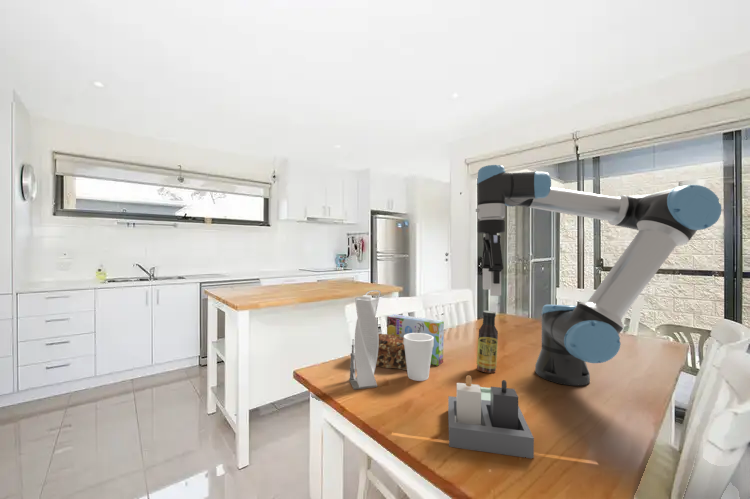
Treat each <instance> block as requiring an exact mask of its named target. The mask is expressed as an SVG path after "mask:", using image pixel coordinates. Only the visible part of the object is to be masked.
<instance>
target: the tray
mask: <svg viewBox="0 0 750 499" xmlns="http://www.w3.org/2000/svg"><path fill="white" fill-rule="evenodd" d="M480 390H481V400H488V401H491V387H485V386H483V387H482V386H480Z"/></svg>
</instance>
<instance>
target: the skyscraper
mask: <svg viewBox="0 0 750 499" xmlns="http://www.w3.org/2000/svg"><path fill="white" fill-rule="evenodd" d="M374 292H377V293H378V296H377V297H373V295H370V293H374ZM381 293H382V291H381V290H378V289H371V290H368V291H367V292H365V294H363V295H362V296H357V297H355V298H354V302H355V309H356V314H357V318H356V322H355V330H354V339H352V344H351V353H350V364H349V365H350V366H349V378H348V380H349V382H350V385H351V388H352V389H353V390H363V389H372V388H378V384H377V381H376V378H375V371H376V367H377V366H376V363H377V357H378V348H379V334H380V333H379V328H378V327H379V326H378V322H377V317H376V315H377V311H378V305H379V299H380V296H381Z"/></svg>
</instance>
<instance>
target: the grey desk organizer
mask: <svg viewBox="0 0 750 499" xmlns="http://www.w3.org/2000/svg"><path fill="white" fill-rule="evenodd" d="M507 384H508V382H507V381H506V380H505V379H503V380H501V387H498V386H490V388H491V401H488V400H481V425H474V424H466V423H459V422H456V402H457V396H449V395H448V401H447V402H448V406H447V407H448V408H447V410H448V412H447V413H448V415H447V416H448V418H447V419H448V447H449V448H456V449H463V450H471V451H476V452H477V451H478V452H485V453H491V454H492V453H493V454H498V455H503V456H505V455H506V456H512V457H520V458H525V457H526V458H525V459H532V458H534V457H535V454H534V453H535V452H534V451H535V450H534V449H535V448H534V447H535V437H534V435H533V433H532V431H531V429H530V427H529V425H528V423H527V421H526V419H525V416H524V414H523V412H522V410H521V408H520V405H519V395H518V394H517V391H516V389H515V388H507Z"/></svg>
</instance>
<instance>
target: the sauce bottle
mask: <svg viewBox="0 0 750 499" xmlns="http://www.w3.org/2000/svg"><path fill="white" fill-rule="evenodd" d="M496 315H497V313H496V312H495V311H491V310H483V311H482V316H483V317H482V319H483V320H482V325H481V326H480V327H479V329H478V337H477V338H478V339H477V352H476V369H477V370H478V371H479V372H482V373H485V374H494V373H495V372H496V370H497V360H498V359H497V358H498V341H499V336H498V335H499V333H498V330H497V327H496V326H495V325H496V323H495V321H496Z"/></svg>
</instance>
